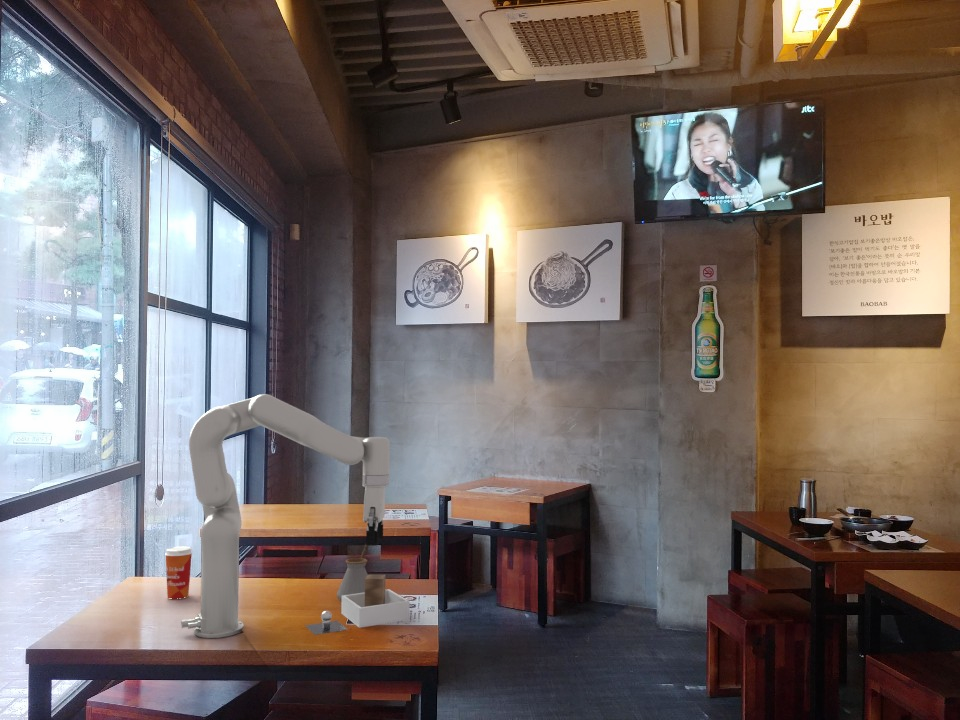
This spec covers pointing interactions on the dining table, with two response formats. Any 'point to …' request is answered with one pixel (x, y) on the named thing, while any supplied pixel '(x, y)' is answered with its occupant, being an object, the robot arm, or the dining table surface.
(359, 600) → the grey bin
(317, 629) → the stud plate
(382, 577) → the walnut post
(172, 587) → the coffee cup
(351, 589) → the coffee pot
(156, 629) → the dining table surface
